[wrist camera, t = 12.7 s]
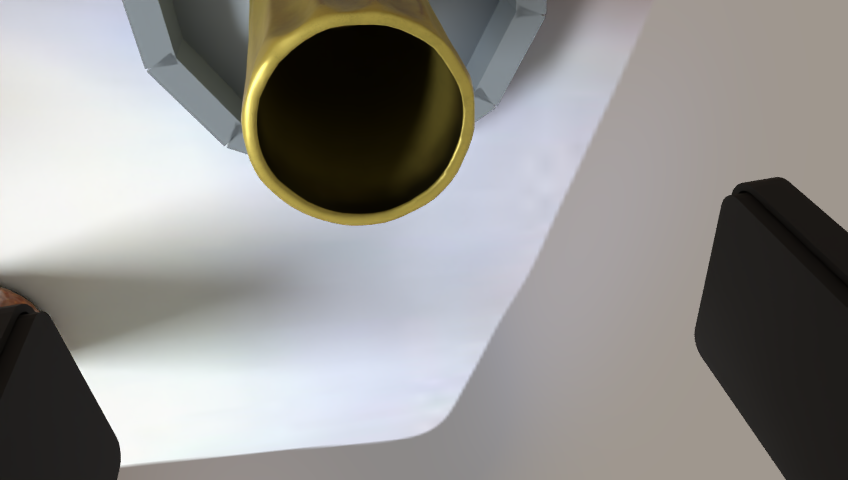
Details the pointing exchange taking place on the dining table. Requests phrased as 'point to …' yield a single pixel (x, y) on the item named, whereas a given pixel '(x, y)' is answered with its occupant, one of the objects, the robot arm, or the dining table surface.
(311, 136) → the vase
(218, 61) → the round tray
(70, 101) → the dining table surface
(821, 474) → the robot arm
